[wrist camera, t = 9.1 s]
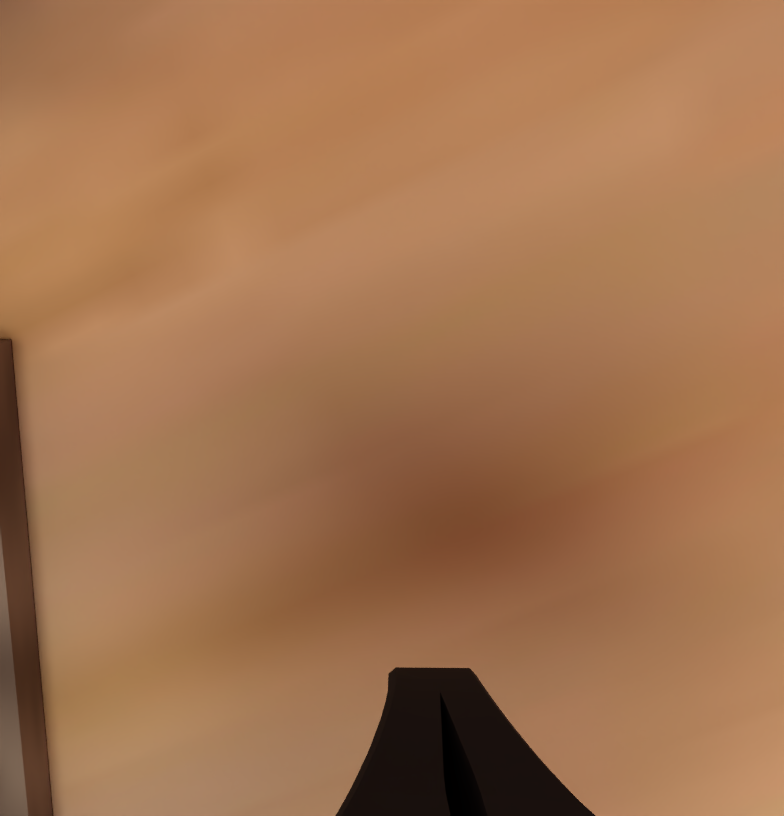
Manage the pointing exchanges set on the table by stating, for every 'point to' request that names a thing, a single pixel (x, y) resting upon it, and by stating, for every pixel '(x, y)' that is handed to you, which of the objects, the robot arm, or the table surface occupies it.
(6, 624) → the stool seat panel
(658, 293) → the table surface
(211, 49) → the table surface
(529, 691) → the table surface
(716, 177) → the table surface
